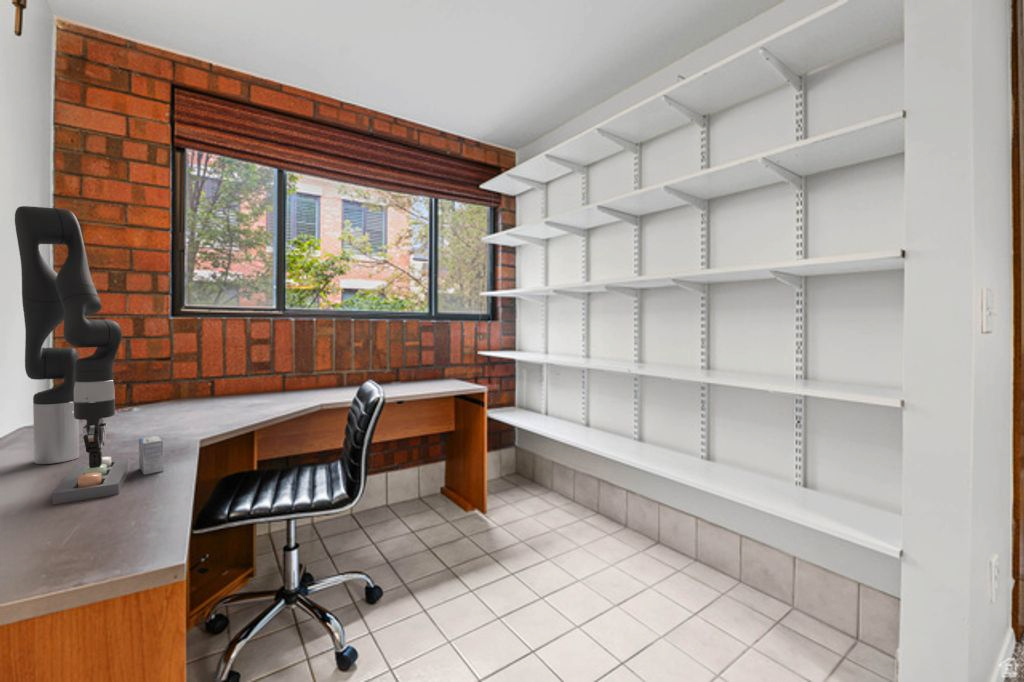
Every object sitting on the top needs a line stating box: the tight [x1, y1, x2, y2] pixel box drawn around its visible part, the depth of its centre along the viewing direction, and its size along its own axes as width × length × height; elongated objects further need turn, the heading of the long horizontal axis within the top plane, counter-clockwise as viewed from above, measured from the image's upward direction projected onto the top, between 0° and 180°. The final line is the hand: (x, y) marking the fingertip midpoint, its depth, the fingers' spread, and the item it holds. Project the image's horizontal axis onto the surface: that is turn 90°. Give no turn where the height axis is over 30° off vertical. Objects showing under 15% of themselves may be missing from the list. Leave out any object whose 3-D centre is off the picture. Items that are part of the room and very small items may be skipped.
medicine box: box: [138, 435, 165, 475], centre depth 122 cm, size 8×4×9 cm, turn 47°
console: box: [52, 458, 131, 505], centre depth 111 cm, size 24×11×2 cm, turn 36°
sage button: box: [85, 464, 107, 476], centre depth 111 cm, size 4×4×3 cm
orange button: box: [78, 473, 101, 488], centre depth 104 cm, size 4×4×3 cm
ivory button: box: [102, 456, 112, 467], centre depth 117 cm, size 4×4×3 cm
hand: (95, 466), depth 110 cm, fingers closed
